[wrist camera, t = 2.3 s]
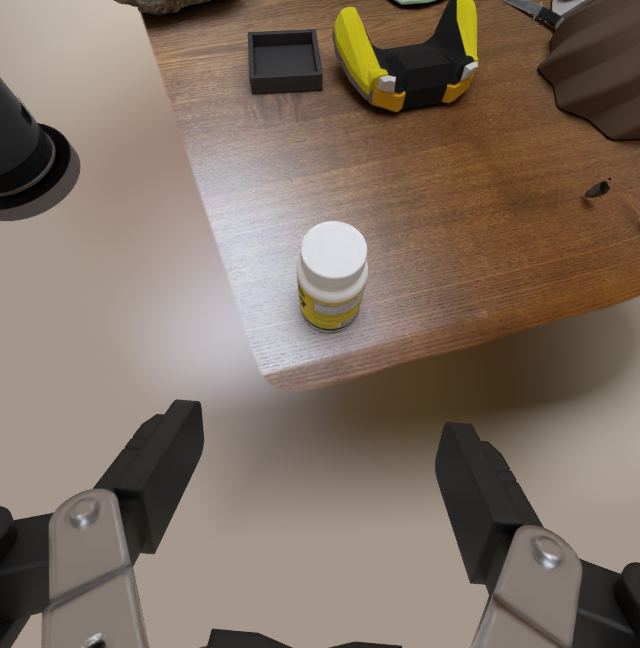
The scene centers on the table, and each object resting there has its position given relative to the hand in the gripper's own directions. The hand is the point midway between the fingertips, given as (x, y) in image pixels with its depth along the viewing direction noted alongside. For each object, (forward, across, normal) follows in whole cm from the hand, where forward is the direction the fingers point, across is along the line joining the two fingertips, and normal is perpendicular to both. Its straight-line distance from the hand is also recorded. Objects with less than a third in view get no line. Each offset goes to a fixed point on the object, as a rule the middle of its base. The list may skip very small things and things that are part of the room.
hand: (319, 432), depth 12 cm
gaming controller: (+37, -7, -17) cm, 41 cm away
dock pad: (+38, +7, -18) cm, 42 cm away
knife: (+47, -21, -25) cm, 57 cm away
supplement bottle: (+18, 0, +2) cm, 18 cm away
